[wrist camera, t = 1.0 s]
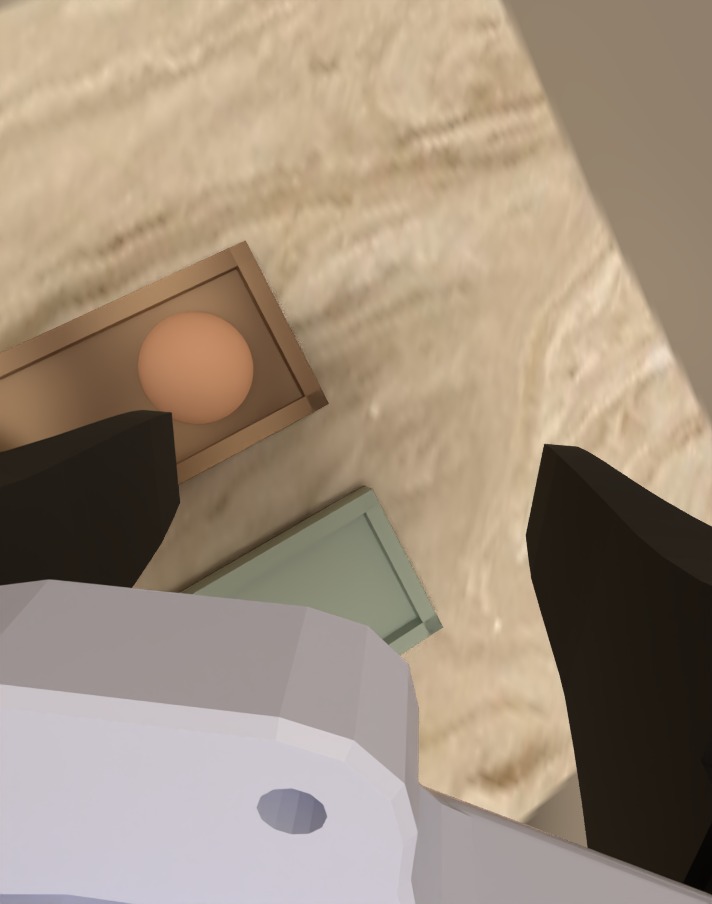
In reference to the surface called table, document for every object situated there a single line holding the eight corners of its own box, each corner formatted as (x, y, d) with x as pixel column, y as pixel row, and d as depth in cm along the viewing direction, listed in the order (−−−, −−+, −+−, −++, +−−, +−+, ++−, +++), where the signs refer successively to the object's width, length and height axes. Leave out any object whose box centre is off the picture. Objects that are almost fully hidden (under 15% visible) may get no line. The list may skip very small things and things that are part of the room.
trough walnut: (-81, 620, 23) (-95, 631, 21) (-200, 452, 21) (-222, 455, 20) (322, 403, 26) (328, 403, 25) (242, 248, 25) (245, 240, 24)
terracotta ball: (174, 440, 24) (173, 447, 20) (121, 347, 23) (109, 336, 19) (265, 393, 25) (280, 391, 21) (216, 302, 24) (223, 282, 20)
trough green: (80, 847, 25) (75, 868, 24) (-19, 707, 23) (-29, 723, 22) (432, 618, 28) (442, 627, 27) (364, 485, 27) (372, 489, 26)
